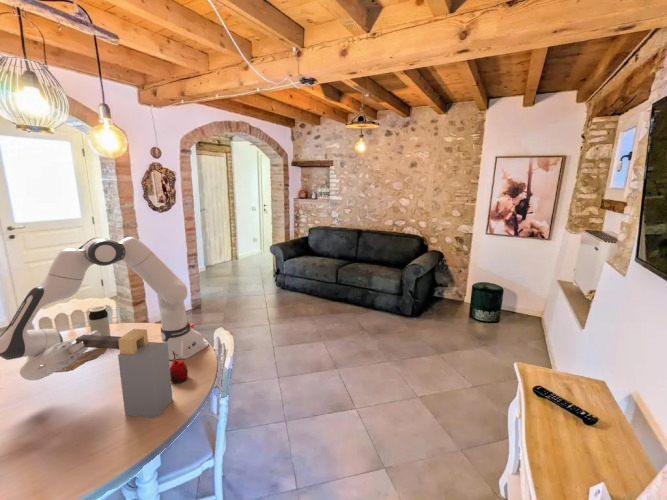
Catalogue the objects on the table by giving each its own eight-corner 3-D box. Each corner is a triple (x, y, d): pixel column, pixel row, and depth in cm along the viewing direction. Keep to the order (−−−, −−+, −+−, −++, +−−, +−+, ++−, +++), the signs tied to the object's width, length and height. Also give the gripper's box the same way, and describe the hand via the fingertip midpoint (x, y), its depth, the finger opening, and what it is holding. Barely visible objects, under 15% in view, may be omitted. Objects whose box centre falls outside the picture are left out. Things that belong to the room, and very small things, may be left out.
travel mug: (112, 340, 171) (108, 308, 167) (94, 345, 165) (90, 312, 161) (108, 335, 176) (104, 304, 172) (90, 340, 170) (86, 308, 166)
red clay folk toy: (191, 376, 141) (189, 345, 138) (180, 386, 134) (178, 353, 131) (177, 373, 143) (174, 342, 139) (165, 383, 136) (162, 350, 133)
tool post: (125, 415, 117) (116, 340, 111) (143, 397, 126) (135, 327, 120) (157, 417, 116) (149, 342, 110) (172, 399, 126) (166, 329, 120)
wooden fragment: (63, 375, 140) (63, 373, 139) (46, 370, 143) (45, 368, 143) (118, 347, 164) (118, 346, 164) (102, 344, 167) (102, 342, 167)
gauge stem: (76, 346, 116) (75, 339, 115) (84, 342, 119) (83, 334, 119) (129, 349, 115) (129, 342, 114) (136, 345, 118) (135, 337, 118)
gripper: (28, 363, 109) (58, 346, 106) (79, 335, 129) (105, 321, 127) (39, 378, 110) (70, 362, 107) (88, 348, 130) (115, 334, 127)
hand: (89, 339), depth 117 cm, fingers open, 4 cm apart
